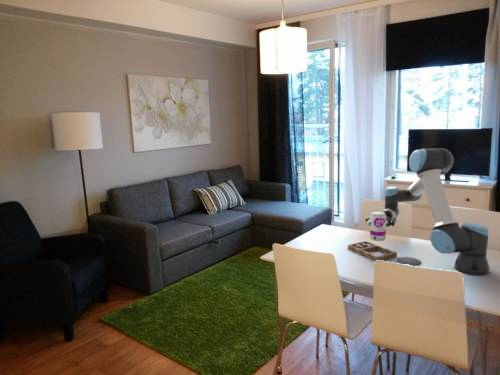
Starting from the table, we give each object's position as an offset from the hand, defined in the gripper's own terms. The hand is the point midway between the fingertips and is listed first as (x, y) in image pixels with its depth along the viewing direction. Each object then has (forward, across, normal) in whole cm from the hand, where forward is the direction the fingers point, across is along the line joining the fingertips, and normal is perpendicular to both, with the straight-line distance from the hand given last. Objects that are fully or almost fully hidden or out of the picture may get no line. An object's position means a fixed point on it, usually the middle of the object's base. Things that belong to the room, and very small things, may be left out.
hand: (375, 225), depth 212 cm
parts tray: (-7, +4, -18) cm, 20 cm away
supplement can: (-5, 0, -9) cm, 10 cm away
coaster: (-3, -17, -18) cm, 25 cm away
